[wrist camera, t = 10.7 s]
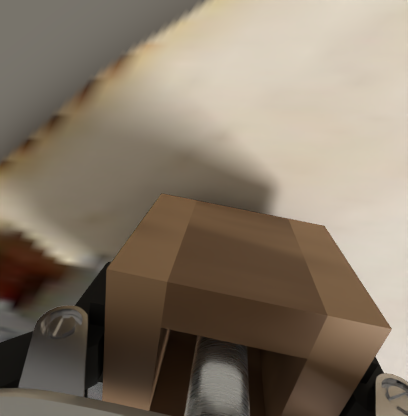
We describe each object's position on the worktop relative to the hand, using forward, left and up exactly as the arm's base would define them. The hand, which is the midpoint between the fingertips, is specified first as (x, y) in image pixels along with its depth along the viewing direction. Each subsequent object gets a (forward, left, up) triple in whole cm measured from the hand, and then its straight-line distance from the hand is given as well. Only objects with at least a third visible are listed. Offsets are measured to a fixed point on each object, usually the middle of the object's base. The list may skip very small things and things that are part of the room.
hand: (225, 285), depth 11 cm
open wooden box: (0, 0, -1) cm, 1 cm away
